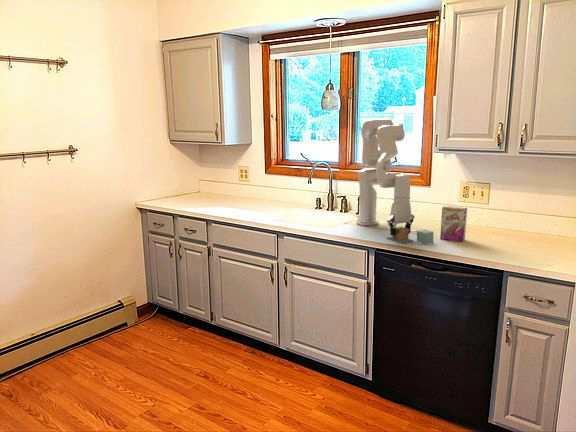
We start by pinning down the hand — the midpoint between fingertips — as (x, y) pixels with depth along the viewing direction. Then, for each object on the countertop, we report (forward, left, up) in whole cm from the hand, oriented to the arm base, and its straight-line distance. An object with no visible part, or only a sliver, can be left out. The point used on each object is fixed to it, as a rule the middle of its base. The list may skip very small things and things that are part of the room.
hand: (400, 234), depth 235 cm
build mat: (0, 0, -3) cm, 3 cm away
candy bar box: (+13, +22, -3) cm, 26 cm away
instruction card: (-13, +19, -3) cm, 23 cm away
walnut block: (0, 0, -3) cm, 3 cm away
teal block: (+9, +7, -3) cm, 12 cm away
